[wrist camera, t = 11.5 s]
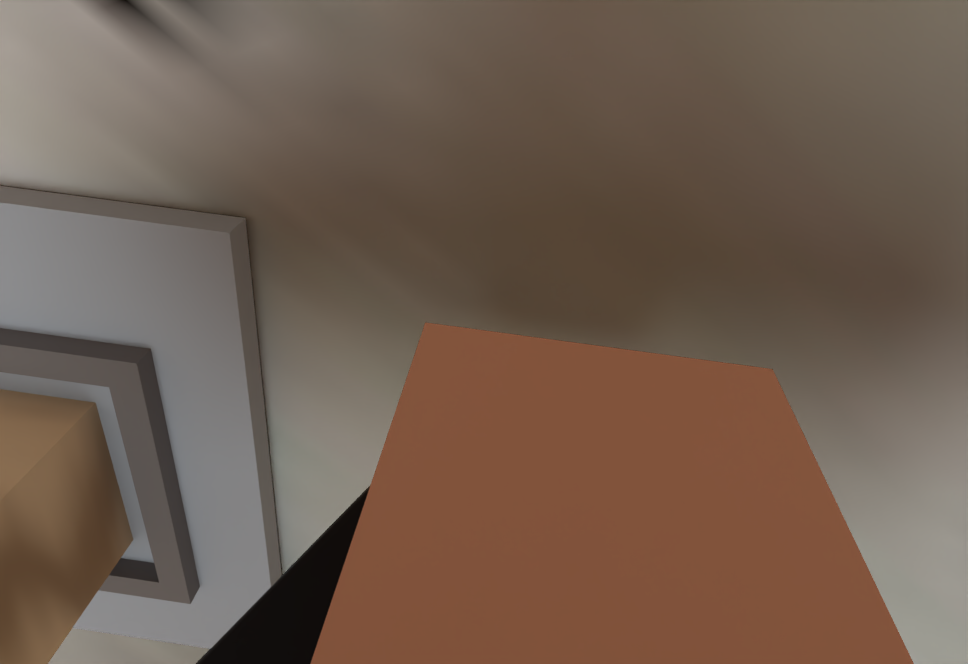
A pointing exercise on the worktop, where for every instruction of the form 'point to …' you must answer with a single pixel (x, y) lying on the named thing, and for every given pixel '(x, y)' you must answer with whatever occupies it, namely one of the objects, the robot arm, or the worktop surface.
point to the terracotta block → (598, 518)
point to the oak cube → (53, 520)
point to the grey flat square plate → (152, 395)
